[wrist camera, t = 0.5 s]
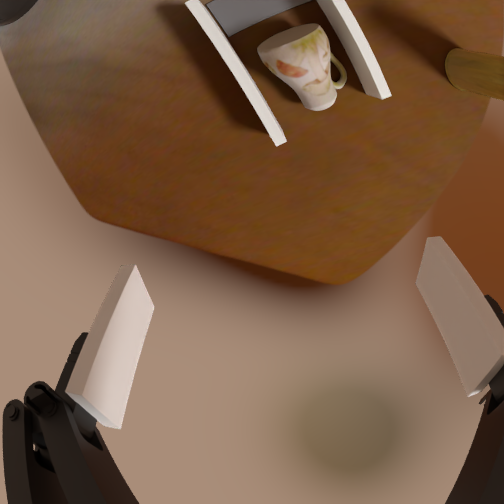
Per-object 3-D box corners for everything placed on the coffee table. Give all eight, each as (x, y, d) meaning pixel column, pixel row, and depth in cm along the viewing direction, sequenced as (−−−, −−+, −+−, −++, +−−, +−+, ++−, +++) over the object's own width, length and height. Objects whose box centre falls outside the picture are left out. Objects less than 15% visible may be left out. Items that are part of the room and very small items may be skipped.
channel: (194, 11, 24) (184, 3, 20) (302, -37, 20) (309, -51, 16) (273, 135, 33) (276, 146, 29) (374, 90, 29) (391, 95, 25)
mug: (299, 123, 32) (268, 105, 24) (274, 56, 31) (239, 24, 22) (359, 105, 29) (350, 78, 20) (330, 36, 28) (309, -5, 19)
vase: (441, 45, 24) (518, 52, 12) (475, 51, 23) (550, 65, 12) (445, 88, 28) (520, 114, 16) (477, 92, 27) (550, 120, 15)
